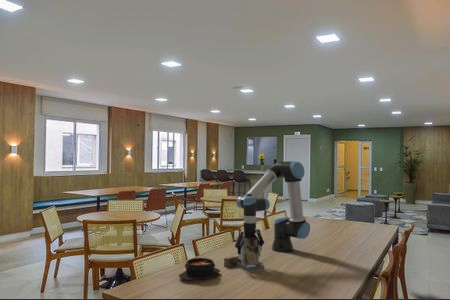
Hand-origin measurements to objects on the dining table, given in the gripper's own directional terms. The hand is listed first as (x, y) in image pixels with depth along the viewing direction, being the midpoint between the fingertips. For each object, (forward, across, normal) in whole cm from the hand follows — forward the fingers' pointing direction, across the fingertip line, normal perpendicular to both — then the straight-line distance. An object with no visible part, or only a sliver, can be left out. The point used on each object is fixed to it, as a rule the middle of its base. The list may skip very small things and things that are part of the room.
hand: (249, 257), depth 209 cm
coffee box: (+4, 0, 0) cm, 4 cm away
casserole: (+6, +33, -1) cm, 34 cm away
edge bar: (+6, 0, -9) cm, 11 cm away
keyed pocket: (+6, 0, 0) cm, 6 cm away
